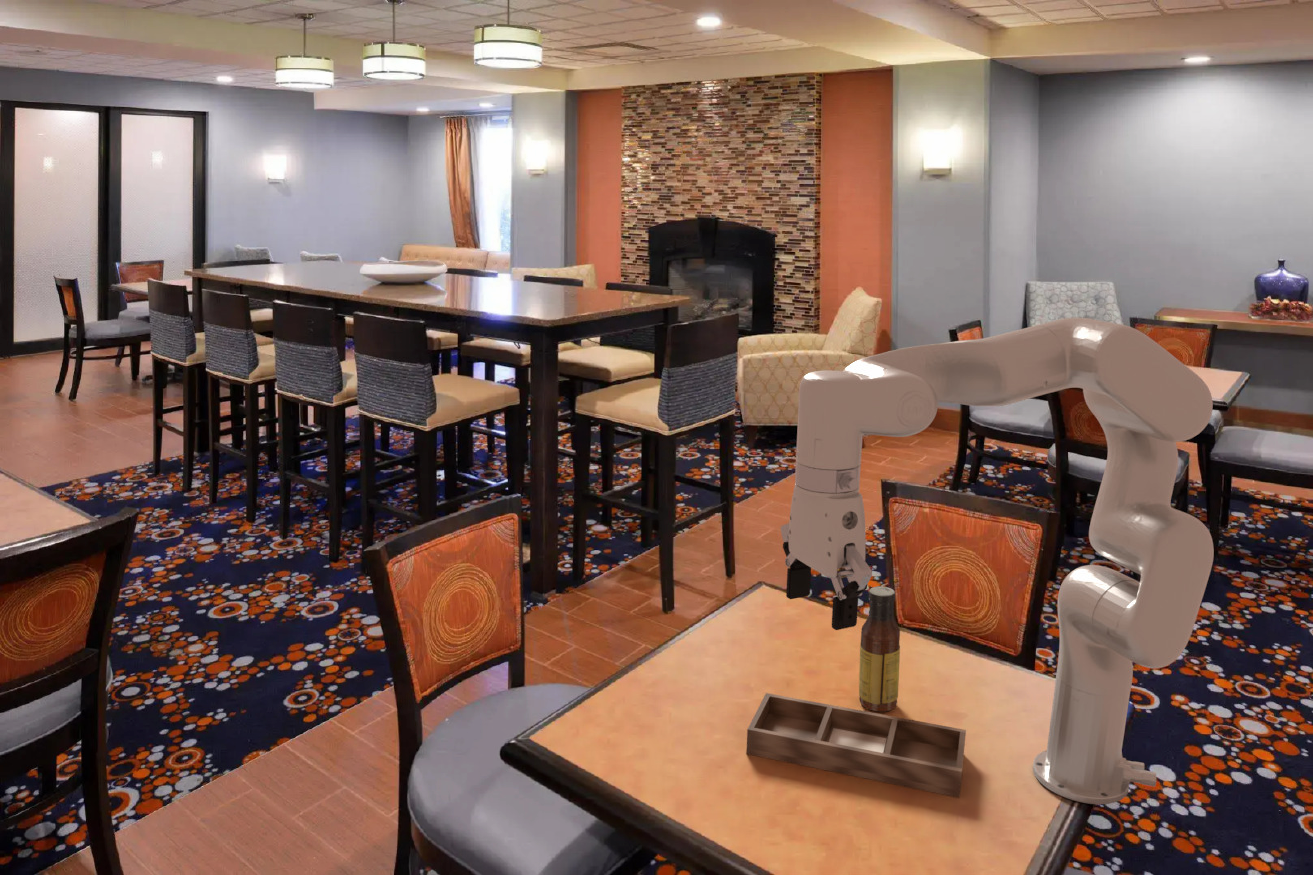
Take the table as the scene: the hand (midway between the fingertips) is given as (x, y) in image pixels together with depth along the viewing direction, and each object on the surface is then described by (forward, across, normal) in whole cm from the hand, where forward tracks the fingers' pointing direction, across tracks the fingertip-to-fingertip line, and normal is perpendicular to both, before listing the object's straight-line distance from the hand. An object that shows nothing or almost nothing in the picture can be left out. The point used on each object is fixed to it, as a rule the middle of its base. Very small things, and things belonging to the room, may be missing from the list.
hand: (820, 611), depth 120 cm
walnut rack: (+31, +13, -17) cm, 38 cm away
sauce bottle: (+31, +24, -29) cm, 49 cm away
